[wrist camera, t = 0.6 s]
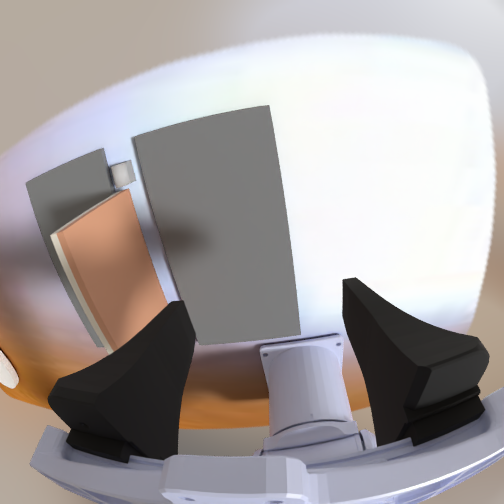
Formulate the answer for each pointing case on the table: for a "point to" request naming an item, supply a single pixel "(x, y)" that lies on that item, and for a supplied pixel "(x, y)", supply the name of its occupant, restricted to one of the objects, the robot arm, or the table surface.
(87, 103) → the table surface
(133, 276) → the flap
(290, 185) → the table surface
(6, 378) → the plastic lid
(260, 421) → the table surface
